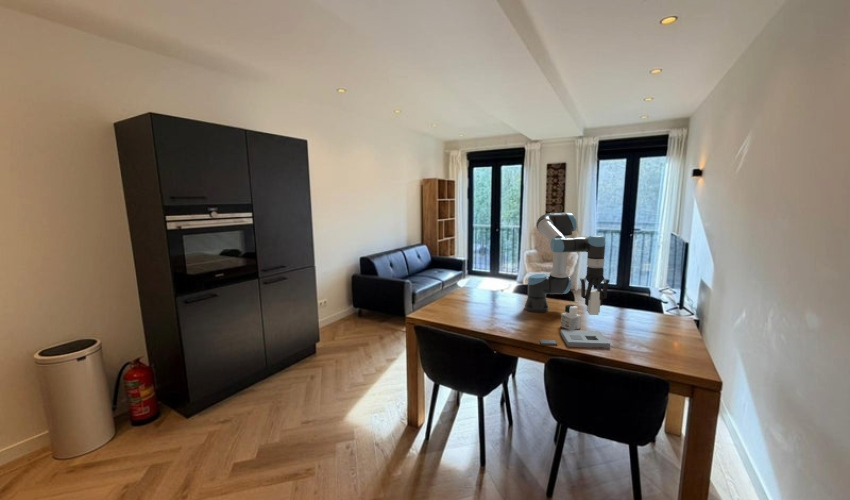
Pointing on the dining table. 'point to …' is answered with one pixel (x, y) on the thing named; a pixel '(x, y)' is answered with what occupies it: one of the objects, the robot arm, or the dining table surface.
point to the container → (571, 318)
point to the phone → (548, 342)
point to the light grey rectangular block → (594, 302)
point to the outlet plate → (584, 338)
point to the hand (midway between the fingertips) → (593, 311)
